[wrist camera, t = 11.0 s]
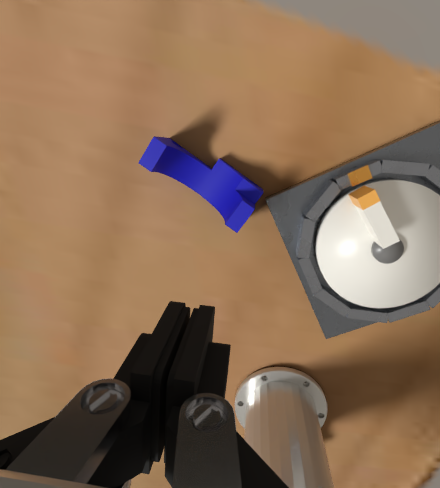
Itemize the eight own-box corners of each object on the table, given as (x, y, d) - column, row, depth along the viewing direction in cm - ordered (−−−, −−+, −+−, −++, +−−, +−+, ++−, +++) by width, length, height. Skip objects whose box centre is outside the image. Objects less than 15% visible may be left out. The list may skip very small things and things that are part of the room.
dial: (469, 265, 35) (501, 283, 30) (348, 319, 38) (361, 343, 34) (416, 151, 32) (443, 152, 28) (291, 220, 36) (297, 231, 31)
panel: (483, 279, 37) (505, 292, 34) (323, 332, 41) (329, 348, 38) (437, 121, 33) (458, 118, 29) (265, 197, 37) (266, 203, 34)
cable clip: (262, 189, 37) (264, 196, 31) (240, 220, 38) (237, 232, 32) (176, 126, 36) (161, 122, 30) (156, 160, 37) (138, 162, 32)
